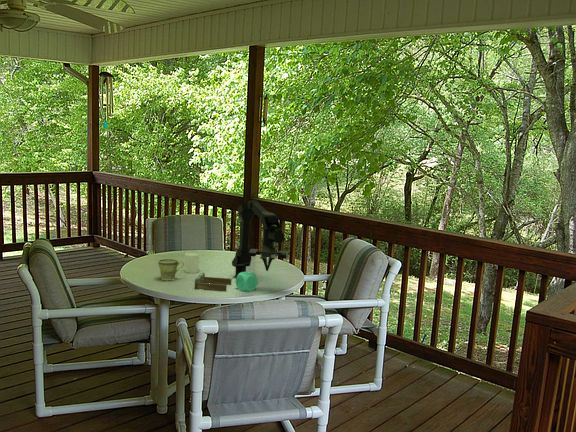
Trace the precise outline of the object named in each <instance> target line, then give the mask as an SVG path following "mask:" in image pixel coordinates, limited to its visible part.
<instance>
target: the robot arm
mask: <svg viewBox="0 0 576 432" xmlns="http://www.w3.org/2000/svg"><path fill="white" fill-rule="evenodd" d="M237 215H238V218H239V220H240V229H239V230H240V231H239V242H238V243H239V246H238V249H237V250H236V252H235V256H234V257H233V259H232V261H231V266H233V267H234V268H235V273H234V276H233V279H236V277H237V275H238V274H239V273H241V272H247V267H250V266H251V264H252V263H251V262H252V257H256V256H258V255H259V259H261V260H262V262H263V264H264V267H265V271H266V272H268V271H269V269H270V267H271V263H272V262H273V260H276V257H278V258H279V259H281V260H282V259H284V260H286V259H287V258H288V252H287V250H278V252H277V249H276V247H275V243H276V244H282V243H283V242H284V241H285V234H284V232H282V229H281V224H280V221H279V218H278V216H277V215H276V214H275V213H274V212H270V211H268V210H267V209H266V208H265V207H263V206H262V205H261V204H260V203H259V201H257V200H249V201H246V203H243V204H241V205H239V206H238V207H237ZM255 215H256V216H257V217H258V218H260V223H261V225H262V227H261V230H262V231H263V232H262V245H261V251H260V250H259V249H258V248H250V249H249V243H250V231H251V230H250V228H251V227H250V225H251V222H252V220H253V218H254V216H255Z"/></svg>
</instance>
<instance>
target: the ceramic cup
mask: <svg viewBox="0 0 576 432" xmlns="http://www.w3.org/2000/svg"><path fill="white" fill-rule="evenodd" d="M157 262H158V267H159V272H160V278H161V281H163V280H172V281H174V280H175V277H176V274H177V272H179V271H180V269H181V268H183V267H185V262H183V261H179V260H178V259H176V258H161V259H158V261H157ZM179 264H182V266H181V267H179V268H177V267H178V266H179ZM173 279H174V280H173Z"/></svg>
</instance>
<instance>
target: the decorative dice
mask: <svg viewBox="0 0 576 432" xmlns="http://www.w3.org/2000/svg"><path fill="white" fill-rule="evenodd" d="M258 282H259V280H258V277H257V274H255V273H254V272H252V271H246V272H241V273H239V274H238V275H237V277H236V278H235V285H236V288H237V290H239V291H240V292H254V290H255V289H257V286H258V284H259V283H258Z"/></svg>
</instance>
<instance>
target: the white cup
mask: <svg viewBox="0 0 576 432" xmlns="http://www.w3.org/2000/svg"><path fill="white" fill-rule="evenodd" d="M199 264H200V254H199V253H198V252H197V253H196V252H186V253H184V267H185V273H186V272H187V274H196V273H198V272H199Z"/></svg>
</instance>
